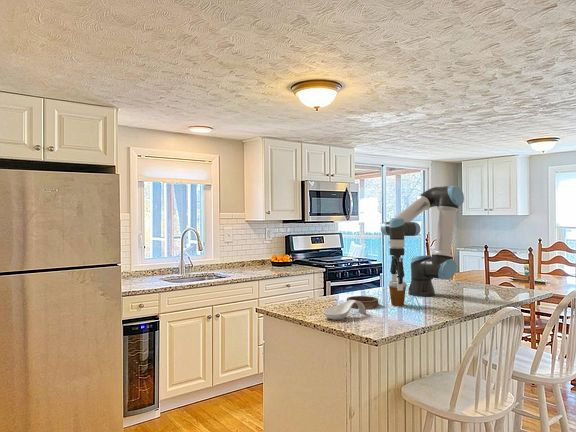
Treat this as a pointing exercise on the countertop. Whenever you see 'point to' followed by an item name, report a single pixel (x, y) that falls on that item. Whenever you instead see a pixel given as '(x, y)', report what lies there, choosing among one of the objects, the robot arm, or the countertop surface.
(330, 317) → the spoon rest
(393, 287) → the disposable coffee cup
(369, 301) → the brown round dish
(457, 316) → the countertop surface
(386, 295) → the countertop surface
